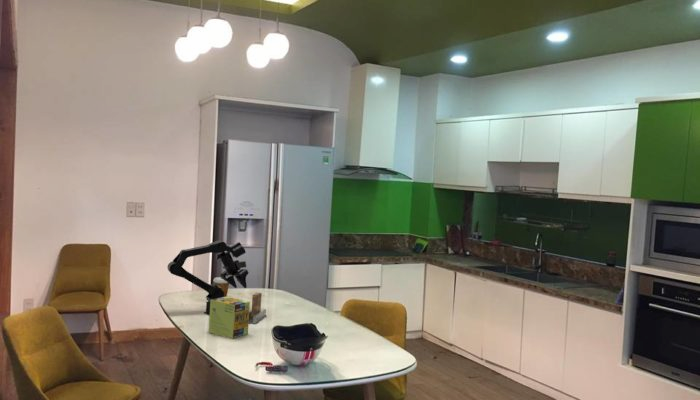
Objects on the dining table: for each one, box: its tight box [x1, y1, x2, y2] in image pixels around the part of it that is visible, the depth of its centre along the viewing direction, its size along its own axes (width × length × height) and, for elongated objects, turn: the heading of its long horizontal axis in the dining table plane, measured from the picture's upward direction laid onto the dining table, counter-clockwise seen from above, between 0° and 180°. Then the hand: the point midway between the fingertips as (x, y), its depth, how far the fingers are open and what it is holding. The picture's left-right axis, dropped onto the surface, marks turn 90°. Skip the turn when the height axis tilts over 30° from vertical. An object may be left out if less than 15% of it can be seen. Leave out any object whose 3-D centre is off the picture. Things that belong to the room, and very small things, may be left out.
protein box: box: [208, 296, 251, 340], centre depth 268 cm, size 10×15×16 cm
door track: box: [249, 308, 267, 325], centre depth 296 cm, size 8×18×4 cm, turn 172°
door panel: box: [251, 292, 262, 318], centre depth 299 cm, size 3×6×12 cm, turn 172°
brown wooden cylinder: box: [213, 276, 230, 297], centre depth 338 cm, size 10×10×12 cm
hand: (240, 287), depth 309 cm, fingers open, 9 cm apart
